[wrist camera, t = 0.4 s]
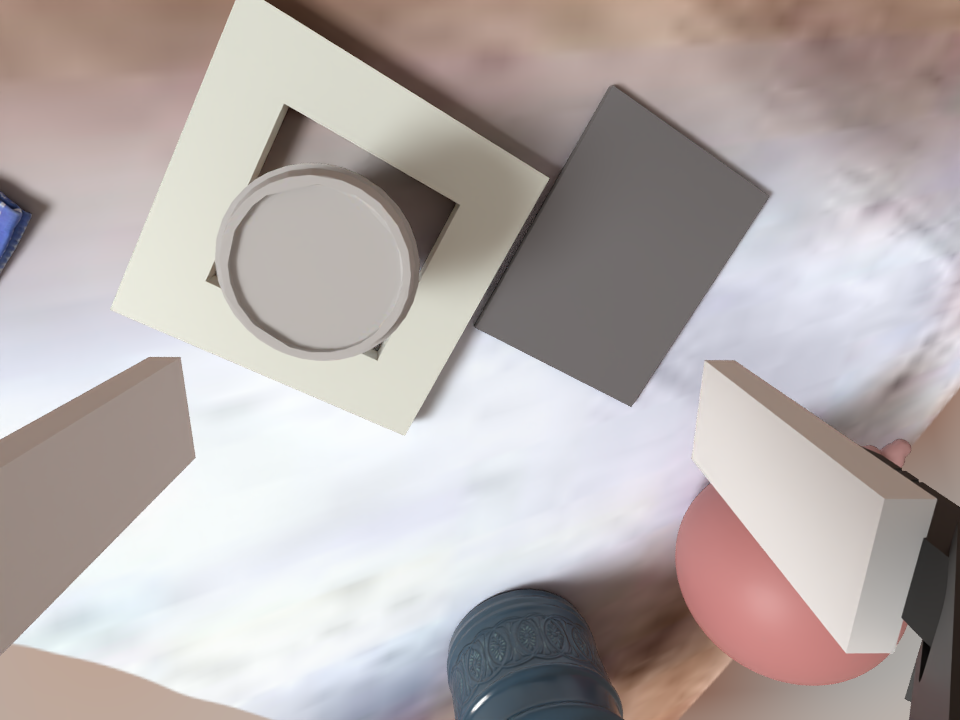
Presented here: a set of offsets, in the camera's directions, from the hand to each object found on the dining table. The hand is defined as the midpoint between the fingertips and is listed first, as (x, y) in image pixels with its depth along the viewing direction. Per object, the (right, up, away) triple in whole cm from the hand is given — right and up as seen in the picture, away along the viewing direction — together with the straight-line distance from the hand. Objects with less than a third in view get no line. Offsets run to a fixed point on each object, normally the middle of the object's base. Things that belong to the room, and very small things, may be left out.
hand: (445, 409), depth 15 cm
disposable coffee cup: (-9, +9, +23) cm, 27 cm away
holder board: (-8, +9, +23) cm, 26 cm away
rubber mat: (+11, +8, +27) cm, 30 cm away
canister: (+4, -24, +37) cm, 45 cm away
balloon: (+24, -10, +35) cm, 44 cm away
